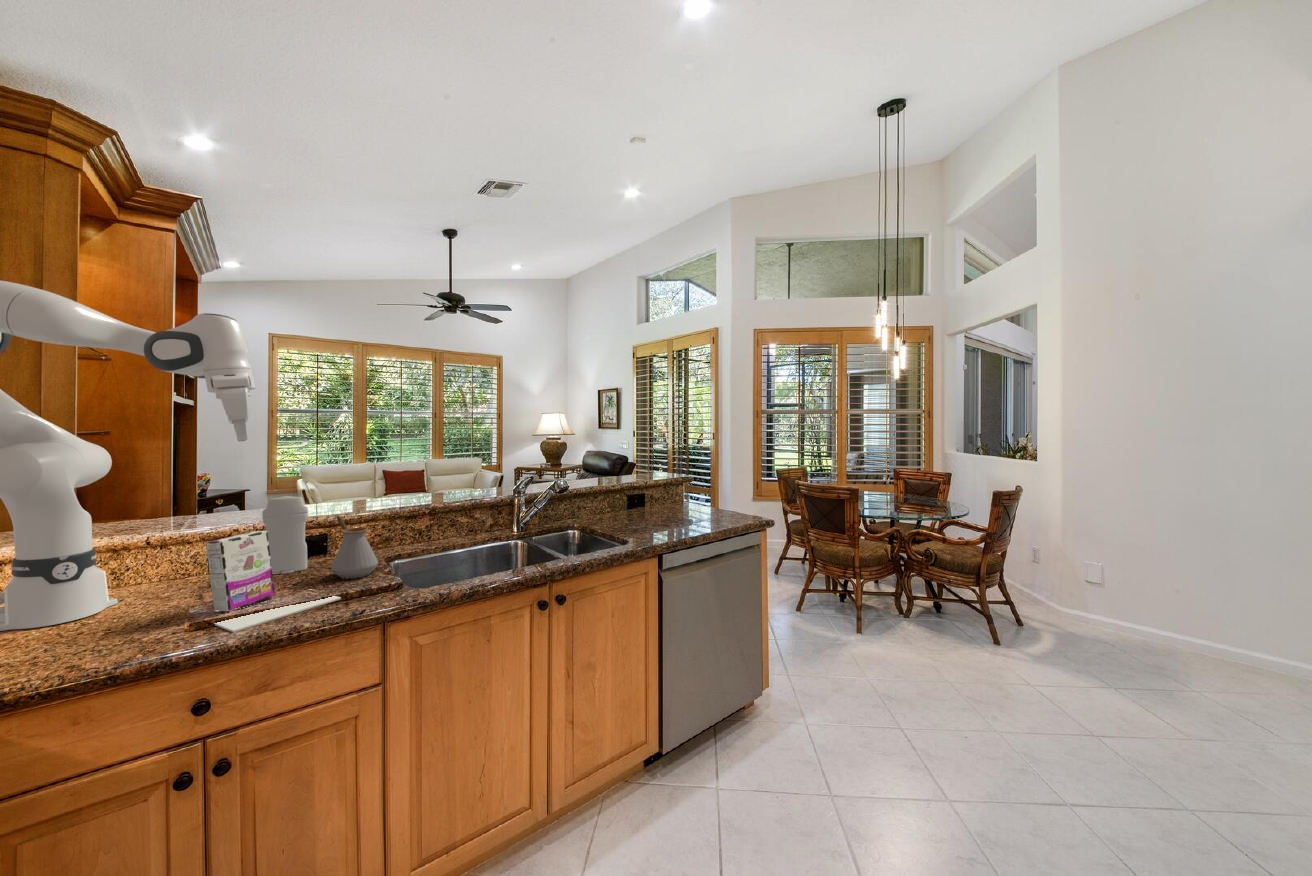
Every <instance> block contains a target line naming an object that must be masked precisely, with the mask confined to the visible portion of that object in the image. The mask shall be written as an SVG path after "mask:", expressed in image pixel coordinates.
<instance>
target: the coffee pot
mask: <svg viewBox="0 0 1312 876" xmlns="http://www.w3.org/2000/svg"><path fill="white" fill-rule="evenodd" d="M335 518H336V519H337V520H335ZM333 521H335V523H336V522H338V523H339V526H340V527H341V528H342V530H341V534H343V541H342V542H341V544H340V547H339V549H338V551H337V554H336V556H335V558H334V561H333V563H332V564H331V567H330V569H331V571H332V573H334V574H335V575H337V576H338V577H339V578H340V577H341V579H344V578H345V579H349V578H351V579H357V578H358V577H359V578H363V577H367V576H368V575H371V573H372V572H373V571H374V570H375V569H376V568H377V566H378V564H379V560H378V558H377V557H376V554H375V552H374V551H373V549H372V547H371V545H370V543H369V541H368V539H367V537H366V534H367V532H368V531H369V528H368V527H352V528H351V527H350V528H347V525H346V523H345V522H344V521H343V517H342V516H339V515H336V516H335V517H334V518H333Z"/></svg>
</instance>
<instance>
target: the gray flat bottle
mask: <svg viewBox="0 0 1312 876" xmlns="http://www.w3.org/2000/svg"><path fill="white" fill-rule="evenodd" d="M261 513H262V514H261V515H262V523H263V525H265V531H267V533H268V541H269V549H270V558H271V566H272V575H273V576H274V575H286V574H289V573H290V574H291V573H295V572H300V571H305V570H308V545H307V542H306V523H307V522H306V521H307V520H308V517H309V507H308V506H306V505H305V504H304V501H303V497H302V496H290V495H289V496H288V495H284V496H283V495H282V496H279V497H275V498H270V499H268V501H267V505H266V508H264V509H263V510H262V511H261Z"/></svg>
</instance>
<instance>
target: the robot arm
mask: <svg viewBox="0 0 1312 876" xmlns="http://www.w3.org/2000/svg"><path fill="white" fill-rule="evenodd" d="M12 336H14V337H17V338H18V337H19V338H22V339H25V340H31V341H35V342H41V343H47V344H53V345H61V346H62V345H63V346H70V347H71V346H72V347H82V348H95V349H97V348H98V349H106V350H107V349H108V350H115V351H122V352H126V353H131V354H135V355H138V356H142V357H144V358H145V359H146V362H148V364H149V365H151V366H152V367H154V368H156V369H157V370H161V371H163V372H166V373H170V374H171V373H172V374H178V375H182V376H184V375H185V376H190V377H193V378H196V379H197V378H198V379H204V381H205V383H206V388H207V392H208V393H211V394H212V393H215V397H216V399H217V400H220V402H221V403H222V406H223V409H224V413H225V415H226V417H227V421H228V424H230V425H233V428H234V432H235V435H236V439H237V441H238V442H246V441H247V440H248V434H247V425H246V423H247V422H248V419H249V417H250V413H249V412H250V410H249V409H250V408H249V397H252V396H251V390H255V389H256V388H257V387H256V383H255V378H254V373H253V372H254V371H253V368H252V365H251V364H250V362H249V348H248V345H247V344H248V343H247V340H246V335H245V332H244V330H243V327H242V325H241V323H240V322H239V321H238V320H236V319H235V318H232V317H230V316H228V315H225V314H224V315H223V314H218V313H205V312H204V313H199V314H197V315H195V316H194V317H193V318H192V319H190V320H189V321H187V322H185V323H184V324H181V325H179V326H175V327H172V328H170V329H166V330H160V331H157V332H156V331H152V330H148V329H146V328H145V329H144V328H141V327H138V326H136V325H135V326H134V325H131V324H129V323H126V322H123V321H121V320H118V319H116V318H114V317H111V316H110V315H107V314H105V313H102V312H101V311H98V310H96V309H93V308H91V307H89V306H87V305H84V304H83V303H80V302H78V301H76V300H73V299H70V298H68V297H65V296H62V295H61V294H57V293H53V292H51V291H48V290H45V289H40V288H37V287H34V286H30V285H26V284H21V283H16V282H11V281H8V280H7V281H6V280H0V355H2V354H3V353H4V352H5V351H6V350H7V349H8V348H9V346H10V344H11V342H12V338H13V337H12ZM112 463H113V460H112V456H111V455H110V453H109V451H107V450H106V449H105V448H104V447H103V446H100V445H98V444H95V443H92V442H90V441H86V440H85V439H82V438H80V437H78V436H76V435H75V434H72V433H71V432H69V431H68V430H65V429H64V428H61V427H60V426H58V425H56V424H55V423H52V422H50V421H48V420H46V419H44V418H42V417H41V416H39V415H38V414H36V413H34V412H32V411H31V410H29V409H28V408H27V407H25V406H23V405H22V404H21V403H20V402H18V401H17V400H16V399H14V398H13V397H12V396H10V395H9V394H8V393H6V392H5V391H3V389H1V388H0V499H1V501H2V503H3V504H4V506H5V508H6V511H7V512H8V514H9V517H10V519H11V522H12V523H11V524H12V527H13V528H12V529H13V540H14V542H13V543H14V558H13V559H12V562H11V565H10V569H11V573H10V574H11V576H12V578H11V579H10V581H9V582H8V583H7V584H6V586H5V588H4V590H3V591H2V592H0V605H2V606H0V632H2V631H9V630H10V631H11V630H22V629H24V630H25V629H36V628H41V627H49V626H53V625H58V624H63V623H68V622H72V621H76V620H79V619H80V620H81V619H83V618H87V617H90V616H93V615H95V614H97V613H100V612H102V611H103V610H105V609H107V608H108V607H109V608H110V607H112V606H114V605H117V604H118V603H119V602H118V601H119V600H118V598H116V597H110V596H109V592H108V591H109V590H108V583H107V573H106V571H105V570H103V569H101V568H99V567H97V566H96V564H97V557H98V556H97V555H98V554H97V553H96V549H95V547H93V525H92V523H93V521H92V520H93V519H92V515H91V514H90V513H89V512H88V511H87V510H85V509H84V508H83V507H82V506H81V504H80V501H79V500H78V498H77V494H76V493H75V489H76V488H81V487H85V486H88V485H90V484H92V483H95V482H97V481H98V480H100V479H102V478H104V477H105V476H107V475H108V473H109V472H110V470H111V468H112V466H113V465H112ZM3 604H4V606H3Z"/></svg>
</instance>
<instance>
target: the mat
mask: <svg viewBox="0 0 1312 876" xmlns="http://www.w3.org/2000/svg"><path fill="white" fill-rule="evenodd" d="M308 590H313V589H311V588H310V589H308ZM340 600H342V597H340V596H338V595H337V596H336V595H334V596H332V597H328V598H325V599H320V600H316V601H310V602H306V603H301V604H296V605H289V606H284V607H280V608H275V609H270V610H265V611H263V612H259V613H255V614H250V615H246V616H241V617H238V618H233V619H229V620H225V621H221V622H217V623H214V624H215V625H214V626H216V627H218V628H220V629H224V630H227V631H229V632H231V633H236V632H237V633H238V632H240V631H243V630H247V629H249V628H252V627H255V626H259V625H263V624H265V623H269V622H271V621H275V620H278V619H281V618H285V617H288V616H292V615H294V614H298V613H301V612H304V611H308V610H311V609H314V608H317V607H319V606H323V605H327V604H330V603H333V602H336V601H340ZM267 601H268V600H267ZM267 601H265V602H267Z"/></svg>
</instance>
